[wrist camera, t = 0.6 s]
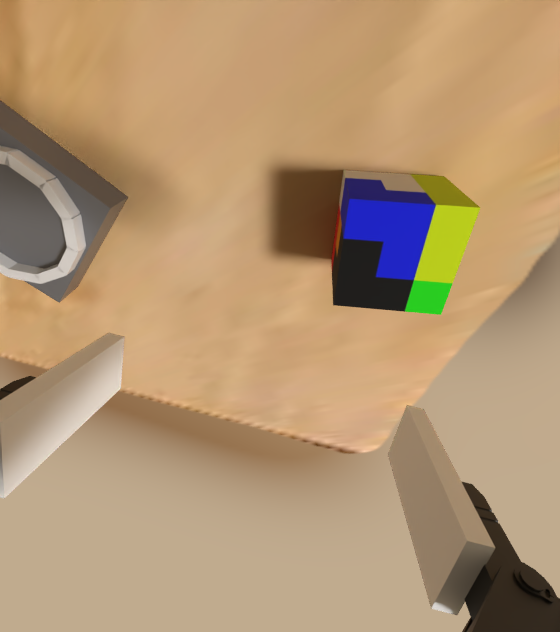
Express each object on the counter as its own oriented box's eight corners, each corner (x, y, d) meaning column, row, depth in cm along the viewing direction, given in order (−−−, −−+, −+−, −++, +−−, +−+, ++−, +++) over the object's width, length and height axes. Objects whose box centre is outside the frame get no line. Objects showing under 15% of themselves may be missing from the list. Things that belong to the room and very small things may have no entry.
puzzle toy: (343, 169, 36) (349, 198, 28) (443, 176, 35) (480, 207, 27) (331, 259, 41) (333, 305, 33) (417, 266, 41) (440, 314, 33)
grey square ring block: (-6, 95, 35) (-55, 99, 31) (128, 197, 40) (102, 213, 35) (-37, 213, 43) (-80, 229, 38) (77, 286, 47) (51, 309, 43)
